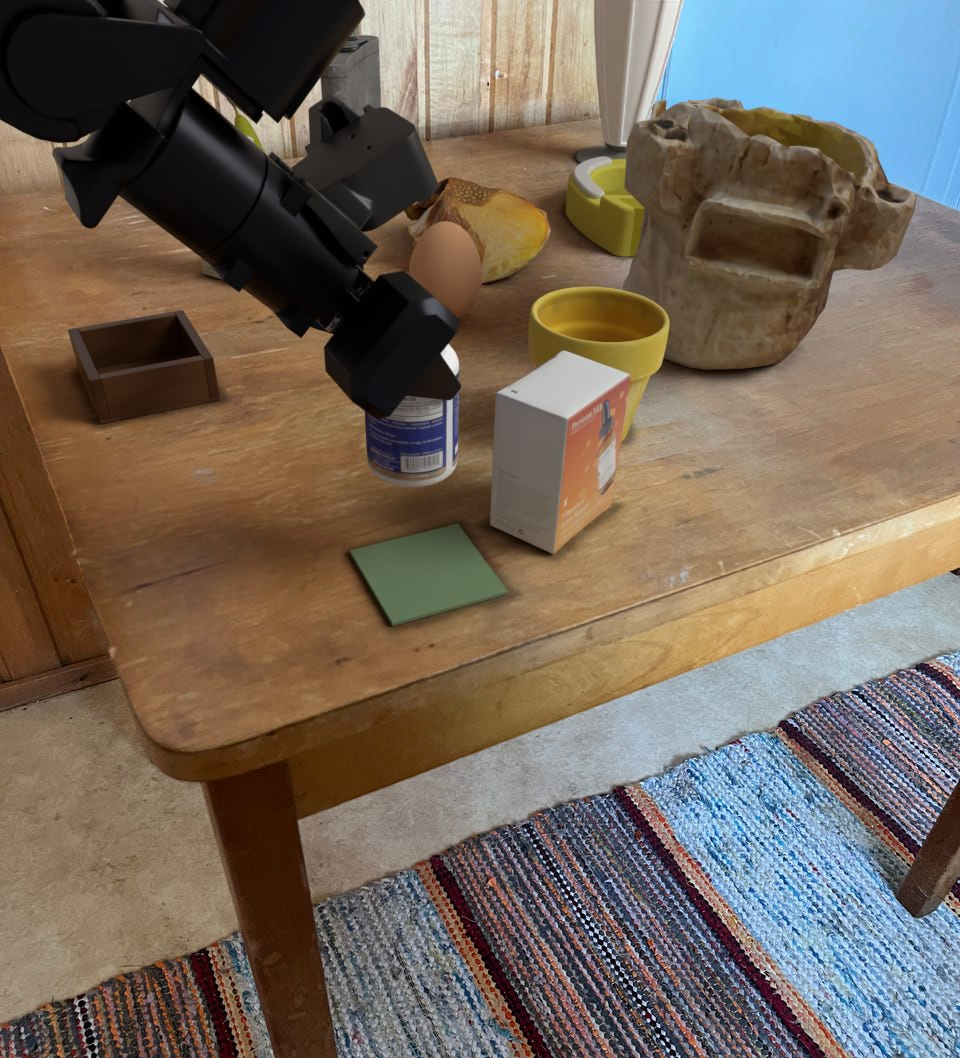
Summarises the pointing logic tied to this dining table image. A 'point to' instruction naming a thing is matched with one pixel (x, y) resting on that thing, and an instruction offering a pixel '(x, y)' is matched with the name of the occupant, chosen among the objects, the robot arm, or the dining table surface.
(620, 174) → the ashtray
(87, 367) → the compartment
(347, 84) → the flask
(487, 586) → the mat
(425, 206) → the seashell
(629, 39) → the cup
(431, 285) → the egg
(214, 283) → the dining table surface
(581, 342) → the flower pot
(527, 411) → the small box
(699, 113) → the ceramic vessel
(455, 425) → the pill bottle
